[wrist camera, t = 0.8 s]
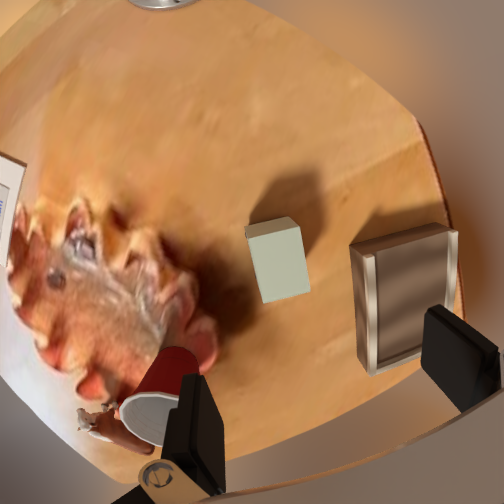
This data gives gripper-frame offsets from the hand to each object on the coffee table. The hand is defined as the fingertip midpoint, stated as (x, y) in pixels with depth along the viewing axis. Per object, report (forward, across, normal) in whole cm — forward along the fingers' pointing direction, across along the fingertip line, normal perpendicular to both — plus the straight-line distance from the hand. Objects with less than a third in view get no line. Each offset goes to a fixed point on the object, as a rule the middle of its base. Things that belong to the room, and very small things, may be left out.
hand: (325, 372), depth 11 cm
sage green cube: (+25, -1, +2) cm, 25 cm away
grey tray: (+26, -18, +13) cm, 34 cm away
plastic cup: (+26, +15, +15) cm, 33 cm away
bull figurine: (+26, +28, +23) cm, 44 cm away
